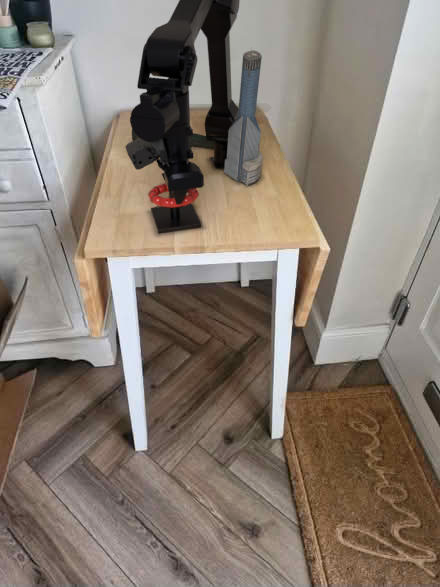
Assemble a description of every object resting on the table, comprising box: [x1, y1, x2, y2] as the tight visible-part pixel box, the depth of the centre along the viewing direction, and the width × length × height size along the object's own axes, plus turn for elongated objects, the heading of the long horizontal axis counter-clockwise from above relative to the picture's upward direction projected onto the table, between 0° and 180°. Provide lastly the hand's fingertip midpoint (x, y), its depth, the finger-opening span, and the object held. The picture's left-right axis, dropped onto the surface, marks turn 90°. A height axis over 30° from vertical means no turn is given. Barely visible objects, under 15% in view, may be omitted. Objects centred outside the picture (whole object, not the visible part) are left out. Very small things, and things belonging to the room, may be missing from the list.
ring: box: [147, 182, 200, 208], centre depth 87 cm, size 10×10×2 cm
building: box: [223, 48, 264, 187], centre depth 96 cm, size 10×9×30 cm
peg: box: [150, 190, 202, 235], centre depth 88 cm, size 9×9×8 cm
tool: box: [131, 128, 214, 149], centre depth 117 cm, size 28×6×7 cm, turn 80°
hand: (177, 201), depth 83 cm, fingers closed on ring, 2 cm apart
